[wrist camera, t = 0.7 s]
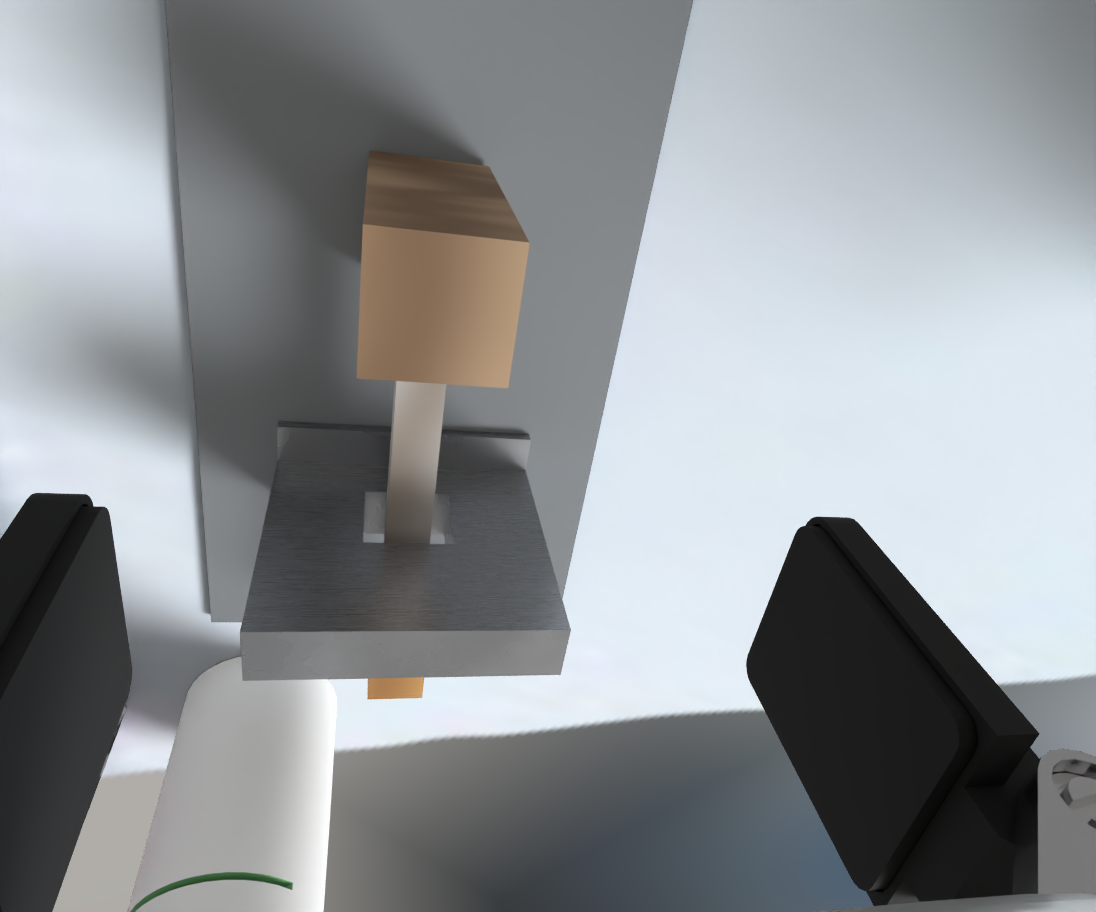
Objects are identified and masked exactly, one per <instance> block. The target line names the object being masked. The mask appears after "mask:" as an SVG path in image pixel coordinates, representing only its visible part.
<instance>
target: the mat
mask: <svg viewBox="0 0 1096 912" xmlns="http://www.w3.org/2000/svg"><path fill="white" fill-rule="evenodd" d="M692 3H693V0H165V7H166V20H167V34H168V47H169V60H170V74H171V87H172V101H173V114H174V128H175V141H176V154H177V168H178V181H179V195H180V208H181V222H182V235H183V248H184V262H185V275H186V289H187V302H188V316H189V329H190V343H191V356H192V369H193V383H194V396H195V410H196V423H197V437H198V450H199V463H200V477H201V490H202V504H203V517H204V531H205V544H206V557H207V571H208V584H209V598H210V611H211V622H242V621H243V616H244V612H245V607H246V603H247V598H248V593H249V589H250V584H251V580H252V575H253V571H254V566H255V562H256V557H257V552H258V548H259V543H260V539H261V534H262V530H263V525H264V520H265V516H266V511H267V507H268V502H269V498H270V493H271V488H272V484H273V479H274V475H275V470H276V466H277V461H278V447H277V426H278V421H294V422H313V423H332V424H350V425H369V426H388V427H392V413H393V398H394V383H395V381H389V380H374V379H359V378H357V357H358V332H359V307H360V282H361V258H362V233H363V217H364V205H365V194H366V182H367V171H368V159H369V150H370V151H378V152H386V153H393V154H401V155H408V156H416V157H423V158H431V159H439V160H446V161H454V162H461V163H469V164H476V165H484V166H489V167H490V169H491V171H492V173H493V175H494V176H495V178H496V180H497V182H498V184H499V186H500V188H501V190H502V192H503V193H504V195H505V197H506V199H507V201H508V203H509V205H510V207H511V208H512V210H513V212H514V214H515V216H516V218H517V220H518V222H519V223H520V225H521V227H522V229H523V231H524V233H525V235H526V237H527V238H528V240H529V242H530V244H529V251H528V258H527V264H526V271H525V278H524V285H523V291H522V298H521V305H520V312H519V319H518V325H517V332H516V339H515V346H514V352H513V359H512V366H511V373H510V379H509V386H508V388H495V387H480V386H465V385H450V384H446V392H445V402H444V412H443V421H442V429H444V430H463V431H482V432H501V433H520V434H529V435H530V439H531V443H530V448H529V454H528V460H527V466H526V473H527V477H528V480H529V484H530V487H531V491H532V495H533V498H534V502H535V505H536V509H537V512H538V516H539V519H540V523H541V526H542V530H543V534H544V537H545V541H546V544H547V548H548V551H549V555H550V558H551V562H552V566H553V569H554V573H555V576H556V580H557V583H558V587H559V590H560V594H561V597H562V598H563V593H564V589H565V584H566V579H567V575H568V570H569V566H570V561H571V557H572V552H573V547H574V543H575V538H576V534H577V529H578V525H579V520H580V515H581V511H582V506H583V502H584V497H585V493H586V488H587V483H588V479H589V474H590V470H591V465H592V461H593V456H594V451H595V447H596V442H597V438H598V433H599V428H600V424H601V419H602V415H603V410H604V406H605V401H606V396H607V392H608V387H609V383H610V378H611V374H612V369H613V364H614V360H615V355H616V351H617V346H618V342H619V337H620V332H621V328H622V323H623V319H624V314H625V310H626V305H627V300H628V296H629V291H630V287H631V282H632V278H633V273H634V268H635V264H636V259H637V255H638V250H639V246H640V241H641V236H642V232H643V227H644V223H645V218H646V213H647V209H648V204H649V200H650V195H651V191H652V186H653V181H654V177H655V172H656V168H657V163H658V159H659V154H660V149H661V145H662V140H663V136H664V131H665V127H666V122H667V117H668V113H669V108H670V104H671V99H672V95H673V90H674V85H675V81H676V76H677V72H678V67H679V63H680V58H681V53H682V49H683V44H684V40H685V35H686V31H687V26H688V21H689V17H690V12H691V8H692ZM363 542H369V543H384V534H366V533H363ZM430 544H445V540H444V535H431V537H430Z"/></svg>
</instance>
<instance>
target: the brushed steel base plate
mask: <svg viewBox="0 0 1096 912" xmlns="http://www.w3.org/2000/svg"><path fill="white" fill-rule="evenodd" d="M390 442H391V427H388V426H369V425H350V424H332V423H313V422H294V421H278V426H277V447H278V461H277V466H276V470H275V475H274V479H273V484H272V488H271V493H270V498H269V502H268V507H267V511H266V516H265V520H264V525H263V530H262V534H261V539H260V543H259V548H258V552H257V557H256V562H255V566H254V571H253V575H252V580H251V584H250V589H249V593H248V598H247V603H246V607H245V612H244V616H243V621H242V625H241V630H240V642H241V661H242V681H262V680H313V679H365V678H416V677H467V676H518V675H560V674H561V670H562V666H563V661H564V657H565V653H566V648H567V644H568V640H569V635H570V631H571V629H570V626H569V622H568V619H567V615H566V612H565V608H564V605H563V601H562V597H561V594H560V590H559V587H558V583H557V580H556V576H555V573H554V569H553V566H552V562H551V558H550V555H549V551H548V548H547V544H546V541H545V537H544V534H543V530H542V526H541V523H540V519H539V516H538V512H537V509H536V505H535V502H534V498H533V495H532V491H531V487H530V484H529V480H528V477H527V473H526V466H527V460H528V454H529V448H530V443H531V439H530V435H529V434H520V433H501V432H482V431H463V430H444V429H442V431H441V440H440V450H439V460H438V469H437V479H436V489H435V498H434V508H433V518H432V527H431V535H444V540H445V544H421V543H369V542H363V533H366V534H384V532H385V517H386V502H387V487H388V472H389V457H390Z"/></svg>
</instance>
